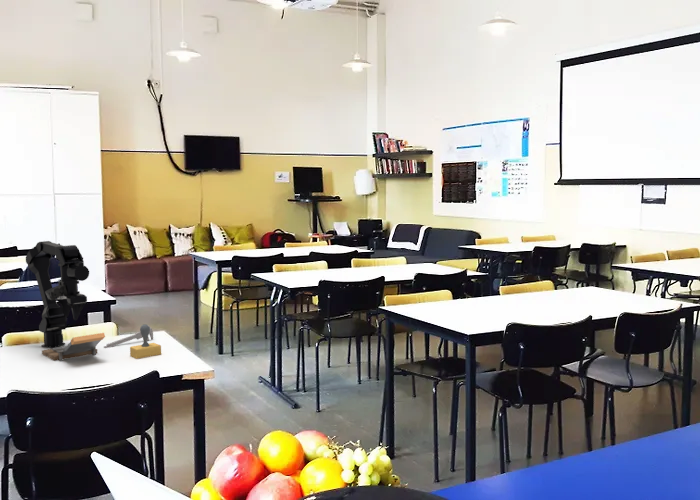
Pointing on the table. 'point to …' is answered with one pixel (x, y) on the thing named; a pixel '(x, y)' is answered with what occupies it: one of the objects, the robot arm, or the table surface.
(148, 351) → the rubber stamp
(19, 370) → the table surface
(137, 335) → the caliper
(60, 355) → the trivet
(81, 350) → the gray slab
